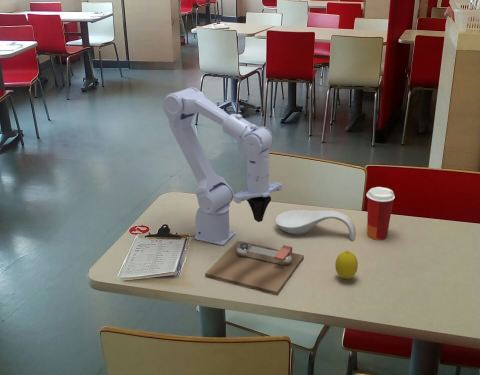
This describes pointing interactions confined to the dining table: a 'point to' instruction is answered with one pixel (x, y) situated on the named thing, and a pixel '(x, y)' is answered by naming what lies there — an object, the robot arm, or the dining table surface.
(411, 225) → the dining table surface
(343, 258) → the lemon
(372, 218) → the paper cup
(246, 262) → the board
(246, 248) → the link
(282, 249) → the keeper
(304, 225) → the spoon rest
